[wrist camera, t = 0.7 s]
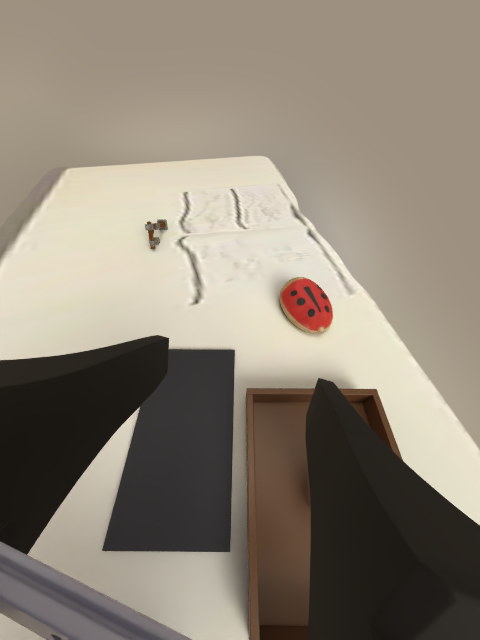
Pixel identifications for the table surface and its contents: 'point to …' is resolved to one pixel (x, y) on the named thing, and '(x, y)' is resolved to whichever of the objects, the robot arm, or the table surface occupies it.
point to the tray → (286, 505)
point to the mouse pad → (180, 461)
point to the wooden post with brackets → (151, 227)
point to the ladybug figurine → (306, 305)
